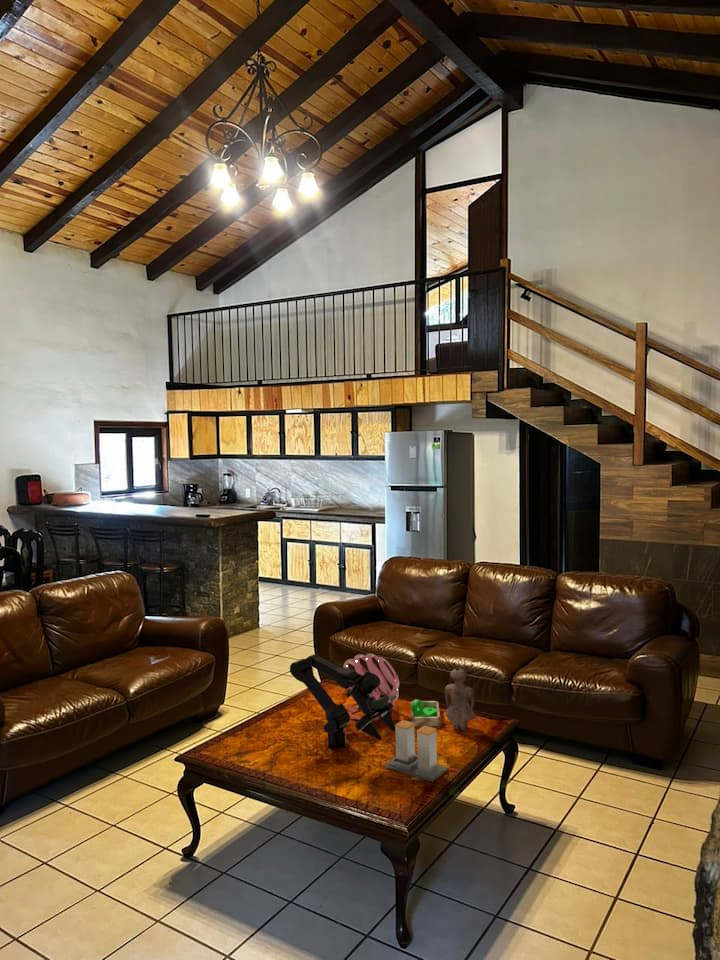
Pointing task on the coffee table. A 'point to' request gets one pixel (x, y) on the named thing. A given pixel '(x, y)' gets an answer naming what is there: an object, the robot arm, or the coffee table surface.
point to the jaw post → (405, 742)
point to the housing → (422, 757)
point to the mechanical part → (419, 711)
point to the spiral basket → (373, 669)
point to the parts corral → (427, 720)
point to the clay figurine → (459, 700)
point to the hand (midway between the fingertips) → (388, 735)
